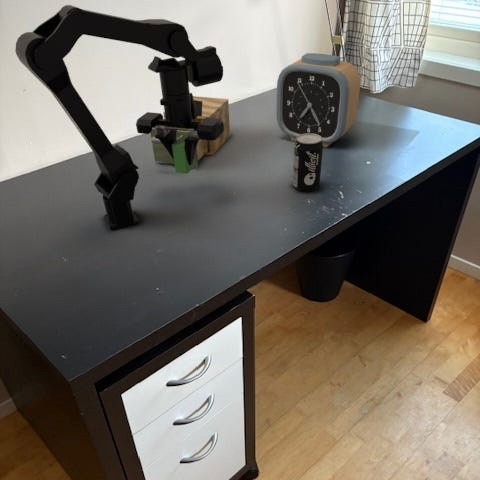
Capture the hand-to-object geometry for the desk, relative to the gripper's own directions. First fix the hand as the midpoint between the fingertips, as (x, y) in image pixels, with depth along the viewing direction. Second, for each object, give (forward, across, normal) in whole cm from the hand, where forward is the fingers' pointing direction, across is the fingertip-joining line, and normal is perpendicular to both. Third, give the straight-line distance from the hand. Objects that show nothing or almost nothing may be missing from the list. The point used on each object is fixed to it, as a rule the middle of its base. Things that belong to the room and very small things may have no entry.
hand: (184, 163), depth 109 cm
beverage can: (+9, -26, -13) cm, 30 cm away
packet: (+1, 0, 0) cm, 1 cm away
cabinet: (+9, +10, -32) cm, 35 cm away
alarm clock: (+9, -21, -43) cm, 49 cm away
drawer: (+8, +10, -20) cm, 23 cm away
